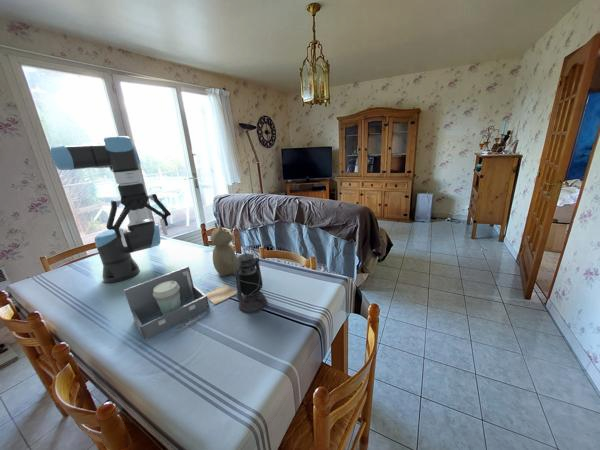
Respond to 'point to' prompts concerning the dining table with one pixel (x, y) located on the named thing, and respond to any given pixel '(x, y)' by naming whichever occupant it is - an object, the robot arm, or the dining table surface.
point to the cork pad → (220, 294)
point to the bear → (223, 251)
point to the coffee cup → (167, 296)
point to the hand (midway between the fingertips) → (146, 239)
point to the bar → (191, 322)
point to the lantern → (249, 283)
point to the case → (147, 305)
